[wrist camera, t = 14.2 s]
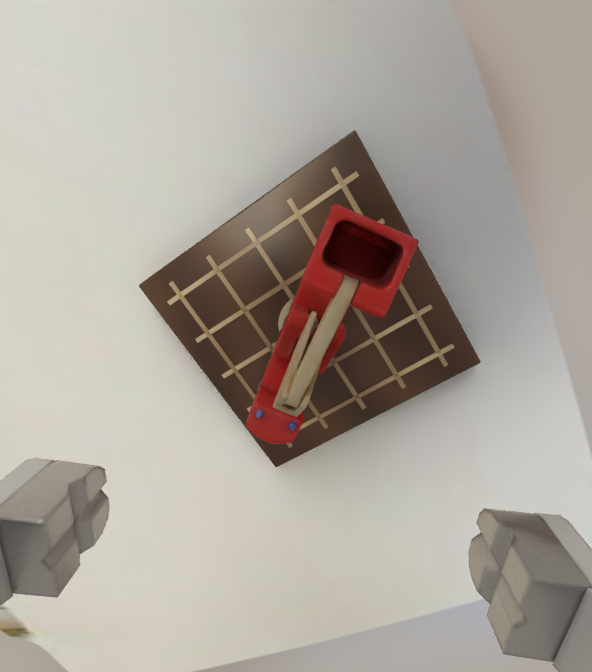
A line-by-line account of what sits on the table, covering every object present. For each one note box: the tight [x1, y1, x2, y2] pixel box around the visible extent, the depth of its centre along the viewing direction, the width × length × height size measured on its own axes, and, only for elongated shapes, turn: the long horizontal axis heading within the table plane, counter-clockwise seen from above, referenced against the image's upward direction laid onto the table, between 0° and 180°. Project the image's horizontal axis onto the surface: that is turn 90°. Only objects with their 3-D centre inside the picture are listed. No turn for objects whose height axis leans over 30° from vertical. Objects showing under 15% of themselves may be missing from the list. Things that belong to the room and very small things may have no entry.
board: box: [139, 131, 480, 467], centre depth 24 cm, size 16×16×2 cm
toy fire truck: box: [246, 204, 418, 444], centre depth 18 cm, size 3×14×10 cm, turn 158°
